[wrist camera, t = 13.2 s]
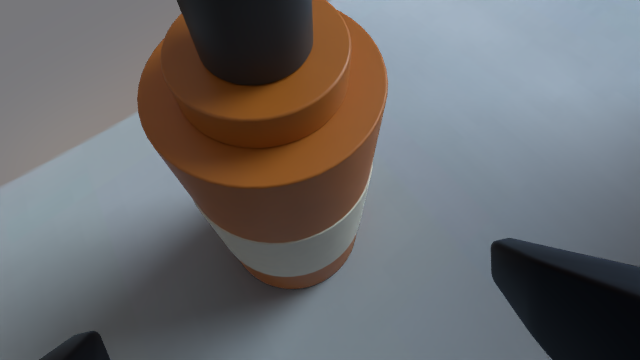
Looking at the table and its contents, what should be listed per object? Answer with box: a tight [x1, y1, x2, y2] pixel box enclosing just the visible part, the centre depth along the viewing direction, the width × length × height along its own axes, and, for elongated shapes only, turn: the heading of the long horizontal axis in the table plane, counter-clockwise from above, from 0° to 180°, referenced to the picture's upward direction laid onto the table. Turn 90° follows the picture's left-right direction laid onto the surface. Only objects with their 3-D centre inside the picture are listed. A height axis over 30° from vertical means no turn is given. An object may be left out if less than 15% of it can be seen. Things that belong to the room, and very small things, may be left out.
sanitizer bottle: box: [137, 0, 388, 289], centre depth 12 cm, size 6×6×14 cm
